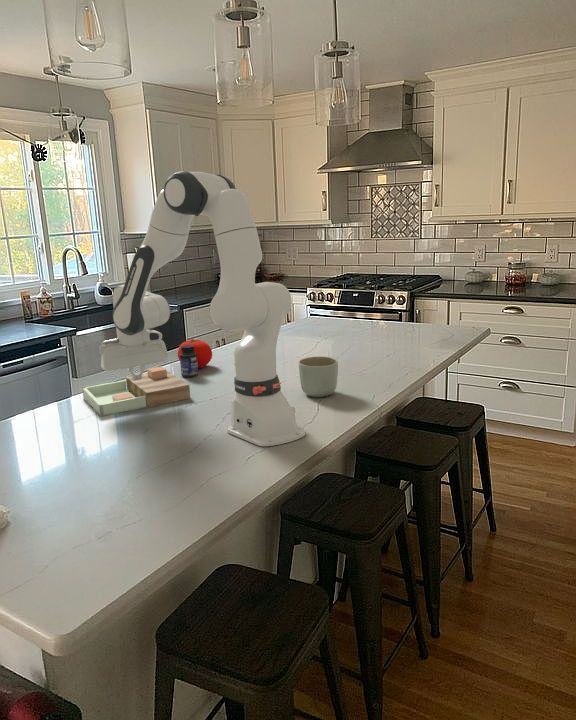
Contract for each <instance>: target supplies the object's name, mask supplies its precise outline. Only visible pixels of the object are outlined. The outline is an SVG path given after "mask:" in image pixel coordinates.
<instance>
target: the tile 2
mask: <svg viewBox="0 0 576 720" xmlns="http://www.w3.org/2000/svg"><path fill="white" fill-rule="evenodd" d="M146 371H147V372H146V373H148V376H149V377H150V378H152V379H157V378H162V377H167V371H168V370H167V369H166V368H165V367H163V366H156V367H152V368H151V367H150V368H146Z"/></svg>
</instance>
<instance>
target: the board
mask: <svg viewBox="0 0 576 720" xmlns="http://www.w3.org/2000/svg"><path fill="white" fill-rule="evenodd" d="M166 371H167V377H162V378H157V379H152V378H150V377H149V376H148V373H147V372H146V373H143V374H142V378H143V379H141V380H135V381H133V380H132V376H131V375H130V376H126V377H125V381H126V389H127V390H129V391H130V393H132V394H133V395H134V396H136V397H140V396H145V398H146V407H148V408H149V407H153V406H158V405H164V404H167V403H172V402H177V401H183V400H187V399H191V390H190V384H189V383H188V382H186V381H184V380H183V379H181V378H179V377H177V376H176V375H174V374H173V373H171V372H169V371H168V370H166Z"/></svg>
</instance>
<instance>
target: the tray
mask: <svg viewBox="0 0 576 720" xmlns="http://www.w3.org/2000/svg"><path fill="white" fill-rule="evenodd" d="M81 389H82V395H83V397H82V398H83V399H84V400H85V402H87V403H88V404H89V405H91V406H92V407H93V408H92V407H91V406H90V407H91V408H92V409H93V410H94V412H96V413H97V414H98V416H99V417H105V415H106V416H111V415H114V414H115V415H116V414H120V413H119V412H121V413H125V412H130V411H134V410H139V409H144V408H147V406H146V398H145V396H140V397H135V396H134V395H133V394H132V393H131V392H129V391H128V390H127V383H126V379H124V380H118V381H113V382H107V383H102V384H101V383H100V384H96V385H91V386H86V387H82V388H81ZM124 393H129V394H130V395H131V396H132V397H133V398H129V399H124V400H119V401H114V402H113V399H112V396H114V395H119V394H124ZM124 411H125V412H124ZM110 414H111V415H110Z"/></svg>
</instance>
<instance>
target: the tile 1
mask: <svg viewBox="0 0 576 720" xmlns="http://www.w3.org/2000/svg"><path fill="white" fill-rule="evenodd" d="M129 398H133V397H132V396H131V395H130V394H129V393H124V394H119V395H114V396H112V399H113V402H114V401H119V400H124V399H129Z"/></svg>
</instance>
